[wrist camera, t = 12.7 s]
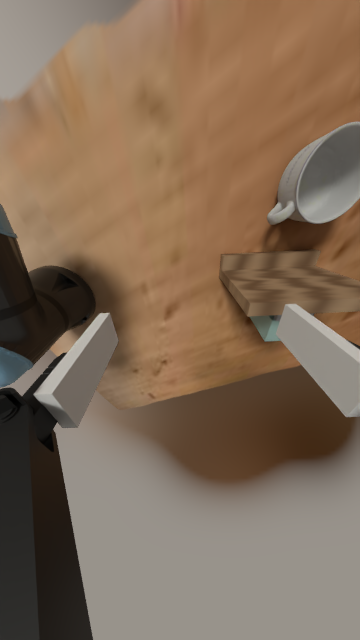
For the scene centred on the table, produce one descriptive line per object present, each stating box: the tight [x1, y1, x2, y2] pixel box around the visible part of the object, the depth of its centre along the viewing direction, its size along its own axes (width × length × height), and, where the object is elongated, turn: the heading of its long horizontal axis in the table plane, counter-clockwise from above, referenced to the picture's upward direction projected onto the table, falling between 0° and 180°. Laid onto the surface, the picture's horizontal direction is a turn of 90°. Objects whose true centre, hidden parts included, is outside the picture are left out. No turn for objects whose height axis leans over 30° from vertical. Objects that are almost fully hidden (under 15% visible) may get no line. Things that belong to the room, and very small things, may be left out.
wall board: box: [219, 249, 360, 316], centre depth 29 cm, size 20×8×18 cm, turn 93°
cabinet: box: [249, 313, 314, 341], centre depth 32 cm, size 7×9×10 cm
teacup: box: [267, 122, 360, 225], centre depth 26 cm, size 14×11×8 cm
